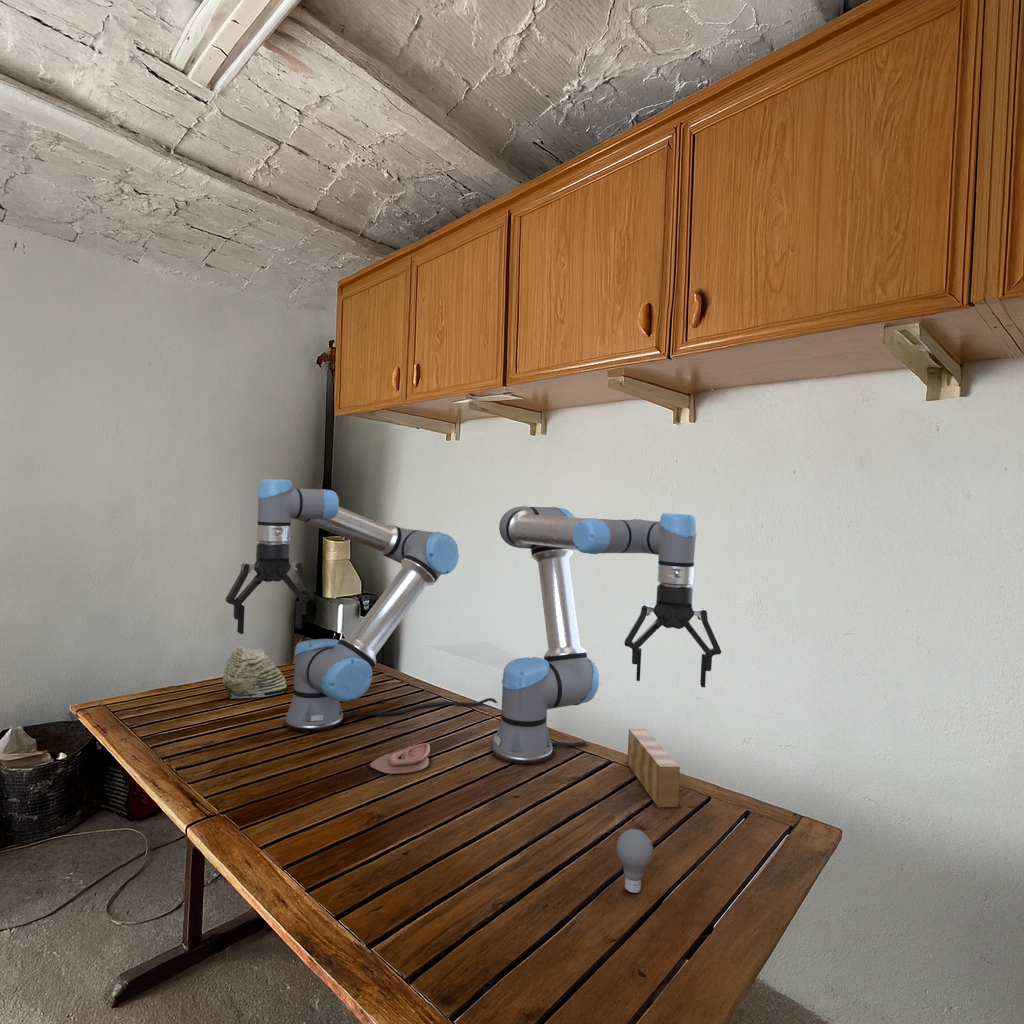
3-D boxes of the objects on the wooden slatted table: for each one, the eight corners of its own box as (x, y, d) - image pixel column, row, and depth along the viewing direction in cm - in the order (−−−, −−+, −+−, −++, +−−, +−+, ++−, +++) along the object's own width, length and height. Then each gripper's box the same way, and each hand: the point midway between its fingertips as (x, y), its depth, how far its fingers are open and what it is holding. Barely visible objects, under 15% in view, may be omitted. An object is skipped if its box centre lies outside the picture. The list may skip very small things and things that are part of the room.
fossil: (218, 695, 195) (220, 647, 195) (278, 685, 208) (279, 640, 207) (228, 703, 189) (230, 653, 188) (289, 692, 201) (290, 645, 201)
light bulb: (610, 879, 108) (613, 822, 108) (644, 879, 109) (647, 822, 109) (619, 902, 102) (622, 840, 102) (655, 901, 103) (658, 840, 103)
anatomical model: (364, 753, 147) (384, 735, 158) (364, 770, 147) (383, 751, 158) (419, 760, 144) (435, 742, 155) (418, 778, 144) (434, 758, 156)
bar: (627, 763, 158) (628, 728, 158) (644, 763, 158) (646, 728, 158) (657, 807, 136) (659, 766, 135) (677, 807, 136) (679, 766, 136)
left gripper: (221, 544, 142) (217, 638, 143) (329, 543, 157) (326, 628, 158) (214, 541, 149) (210, 631, 149) (318, 541, 163) (315, 623, 164)
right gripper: (616, 582, 135) (611, 681, 136) (738, 591, 131) (732, 693, 131) (617, 578, 143) (612, 672, 143) (732, 586, 138) (727, 683, 138)
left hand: (270, 630), depth 153 cm, fingers open, 13 cm apart
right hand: (670, 682), depth 137 cm, fingers open, 13 cm apart
